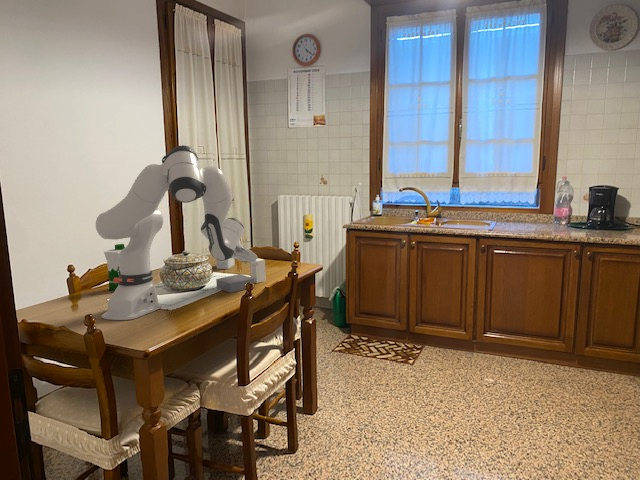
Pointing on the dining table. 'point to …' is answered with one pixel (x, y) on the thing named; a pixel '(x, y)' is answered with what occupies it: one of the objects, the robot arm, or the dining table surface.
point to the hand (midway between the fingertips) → (251, 263)
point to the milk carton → (113, 265)
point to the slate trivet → (233, 283)
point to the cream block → (258, 271)
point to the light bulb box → (225, 263)
